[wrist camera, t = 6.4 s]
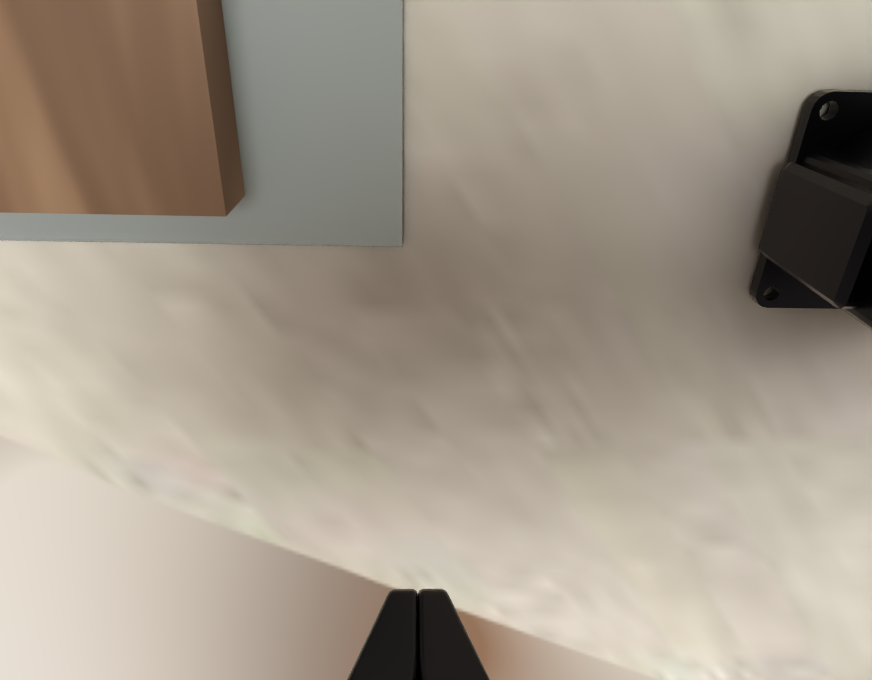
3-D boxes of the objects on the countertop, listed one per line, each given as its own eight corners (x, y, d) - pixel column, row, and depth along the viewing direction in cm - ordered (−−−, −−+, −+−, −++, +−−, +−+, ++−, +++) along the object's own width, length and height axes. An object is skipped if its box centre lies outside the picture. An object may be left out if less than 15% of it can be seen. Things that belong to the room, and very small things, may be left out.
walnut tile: (188, -55, 13) (-197, -68, 13) (226, 216, 16) (-89, 210, 16) (215, -48, 15) (-121, -59, 15) (245, 195, 18) (-37, 189, 18)
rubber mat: (402, -114, 15) (402, -116, 15) (402, 243, 19) (402, 246, 19) (-247, -139, 14) (-259, -141, 14) (-97, 234, 18) (-104, 238, 18)
